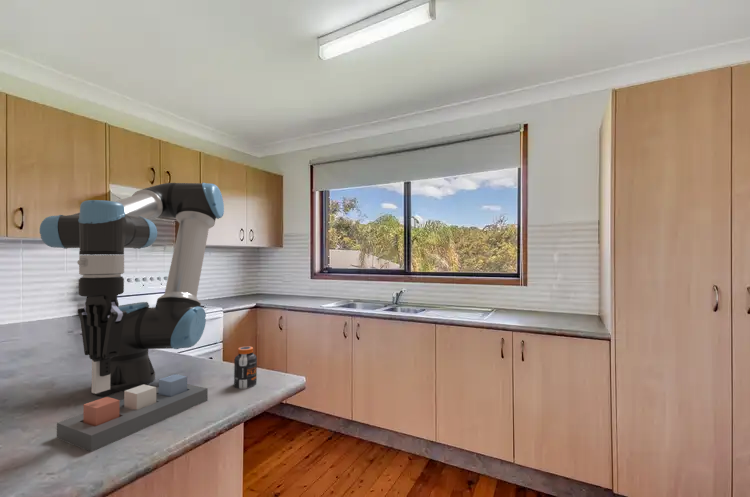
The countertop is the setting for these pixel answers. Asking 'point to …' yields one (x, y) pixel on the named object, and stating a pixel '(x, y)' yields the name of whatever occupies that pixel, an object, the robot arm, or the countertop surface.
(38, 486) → the countertop surface
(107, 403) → the key red
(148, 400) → the key white
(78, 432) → the frame
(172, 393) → the key blue
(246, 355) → the pill bottle
